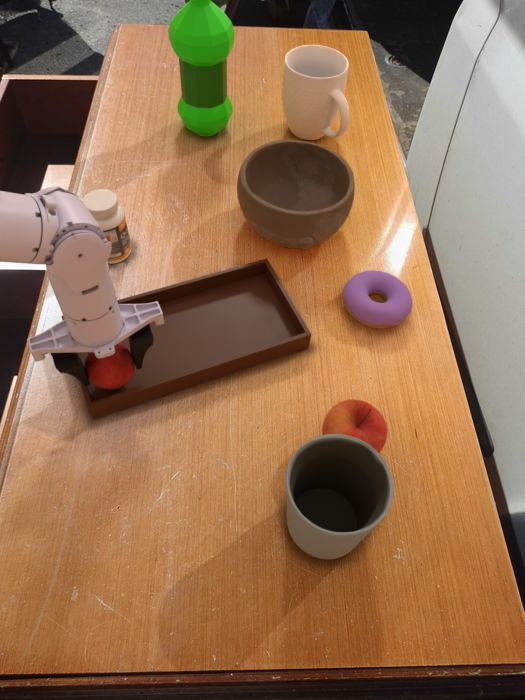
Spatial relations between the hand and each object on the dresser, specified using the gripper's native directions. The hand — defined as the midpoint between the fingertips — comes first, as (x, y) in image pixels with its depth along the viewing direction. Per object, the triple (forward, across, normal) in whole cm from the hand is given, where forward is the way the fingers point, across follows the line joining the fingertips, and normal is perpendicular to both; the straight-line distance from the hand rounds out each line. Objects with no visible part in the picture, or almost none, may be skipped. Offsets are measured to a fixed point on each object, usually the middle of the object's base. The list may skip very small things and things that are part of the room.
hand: (111, 370), depth 69 cm
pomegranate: (+3, 0, 0) cm, 3 cm away
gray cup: (+3, +17, -26) cm, 31 cm away
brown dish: (+3, +11, +3) cm, 12 cm away
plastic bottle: (+3, +30, +48) cm, 56 cm away
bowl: (+3, +34, +19) cm, 39 cm away
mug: (+3, +48, +40) cm, 62 cm away
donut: (+3, +38, -1) cm, 38 cm away
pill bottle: (+3, +6, +23) cm, 24 cm away
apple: (+3, +24, -19) cm, 30 cm away
